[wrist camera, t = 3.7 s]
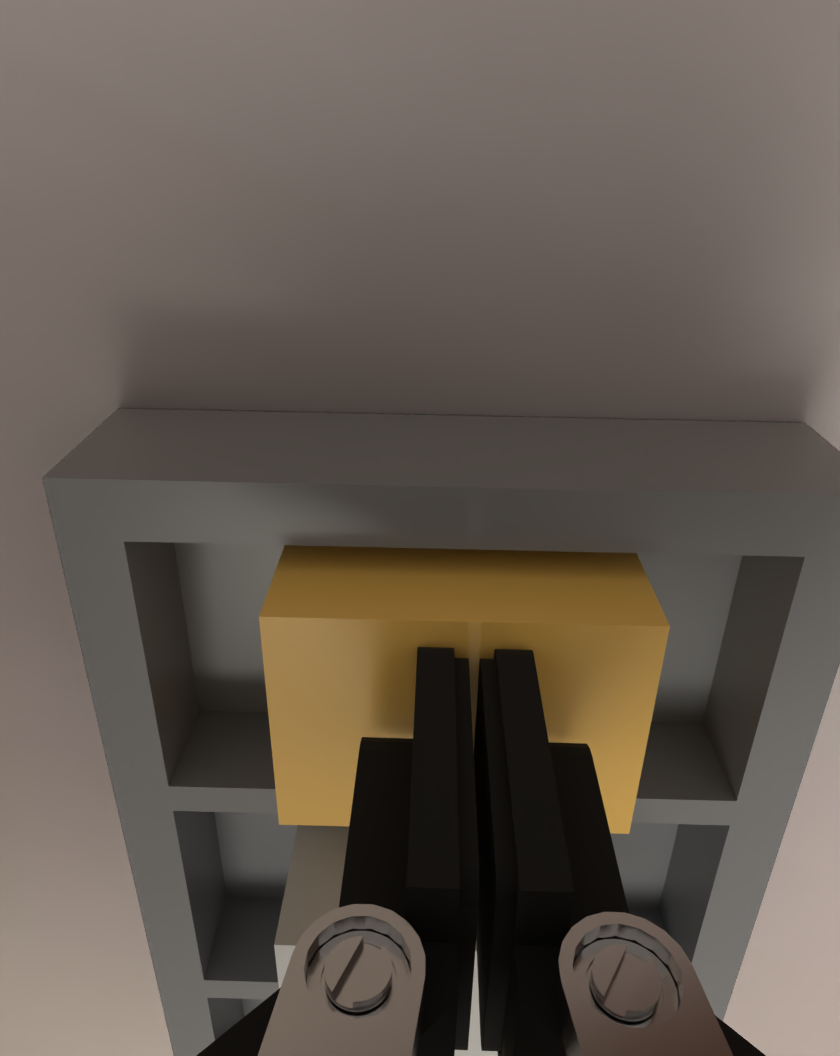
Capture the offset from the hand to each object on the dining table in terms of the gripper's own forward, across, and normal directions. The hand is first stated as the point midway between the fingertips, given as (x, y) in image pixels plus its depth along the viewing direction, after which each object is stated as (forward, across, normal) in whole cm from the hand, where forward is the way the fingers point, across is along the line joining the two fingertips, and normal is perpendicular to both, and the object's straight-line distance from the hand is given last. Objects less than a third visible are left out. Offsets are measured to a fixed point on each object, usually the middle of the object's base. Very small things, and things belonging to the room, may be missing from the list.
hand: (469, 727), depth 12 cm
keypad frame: (+4, 0, +6) cm, 7 cm away
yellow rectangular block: (+3, 0, 0) cm, 3 cm away
